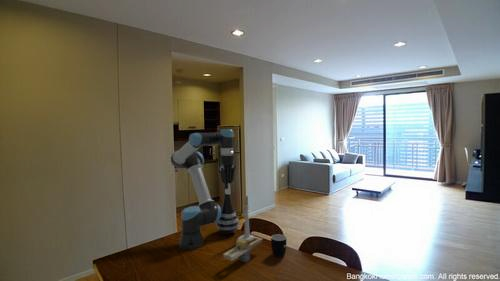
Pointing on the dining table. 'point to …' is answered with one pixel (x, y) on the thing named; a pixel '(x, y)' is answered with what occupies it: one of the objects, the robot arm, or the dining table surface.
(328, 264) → the dining table surface
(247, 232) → the candlestick
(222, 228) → the vase
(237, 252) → the beam
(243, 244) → the rider
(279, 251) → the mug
